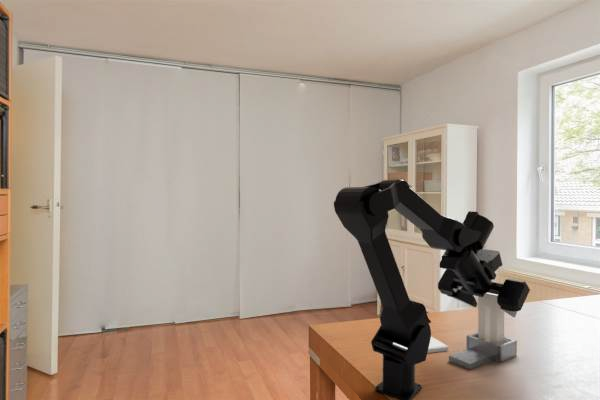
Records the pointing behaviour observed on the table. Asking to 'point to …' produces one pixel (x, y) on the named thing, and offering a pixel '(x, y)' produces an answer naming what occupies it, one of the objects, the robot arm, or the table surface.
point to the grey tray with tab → (483, 352)
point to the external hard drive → (432, 346)
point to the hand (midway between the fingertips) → (494, 310)
